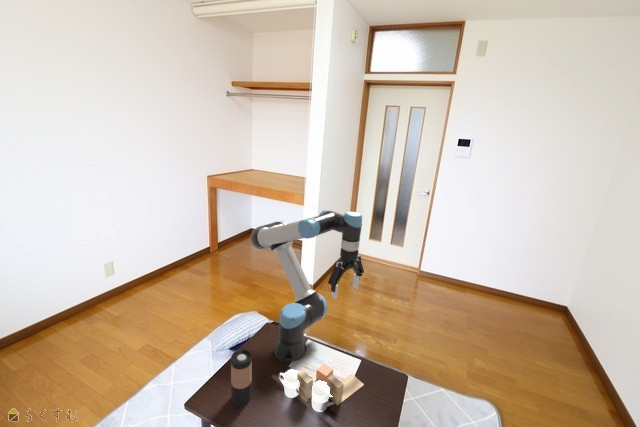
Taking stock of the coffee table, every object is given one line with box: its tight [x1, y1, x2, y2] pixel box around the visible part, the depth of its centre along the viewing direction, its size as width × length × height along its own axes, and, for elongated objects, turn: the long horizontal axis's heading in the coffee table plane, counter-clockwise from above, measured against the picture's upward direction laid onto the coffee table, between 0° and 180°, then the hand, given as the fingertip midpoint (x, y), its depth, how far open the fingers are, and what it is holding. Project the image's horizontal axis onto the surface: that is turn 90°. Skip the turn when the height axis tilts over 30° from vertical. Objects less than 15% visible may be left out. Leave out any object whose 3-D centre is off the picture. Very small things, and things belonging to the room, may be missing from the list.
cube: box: [315, 362, 334, 382], centre depth 128 cm, size 5×5×5 cm
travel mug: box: [230, 349, 253, 407], centre depth 115 cm, size 8×8×20 cm
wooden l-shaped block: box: [327, 373, 365, 406], centre depth 123 cm, size 7×16×9 cm, turn 132°
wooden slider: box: [296, 370, 318, 404], centre depth 124 cm, size 7×16×9 cm, turn 132°
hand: (344, 292), depth 133 cm, fingers open, 13 cm apart
